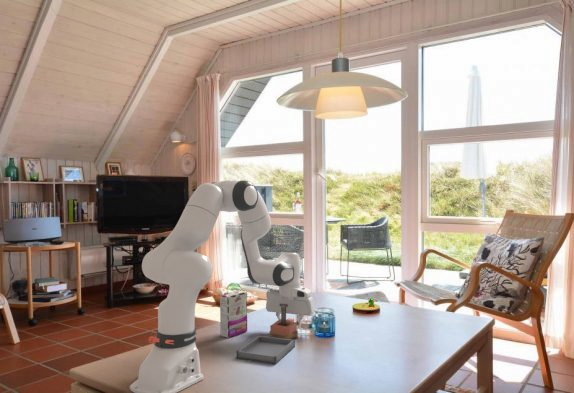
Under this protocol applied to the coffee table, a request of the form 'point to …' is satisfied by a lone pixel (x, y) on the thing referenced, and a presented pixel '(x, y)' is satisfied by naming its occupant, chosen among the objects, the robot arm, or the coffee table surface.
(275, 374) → the coffee table surface
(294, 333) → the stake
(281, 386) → the coffee table surface
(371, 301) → the toy character
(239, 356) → the tray
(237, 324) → the candy bar box
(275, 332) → the orange hollow block
